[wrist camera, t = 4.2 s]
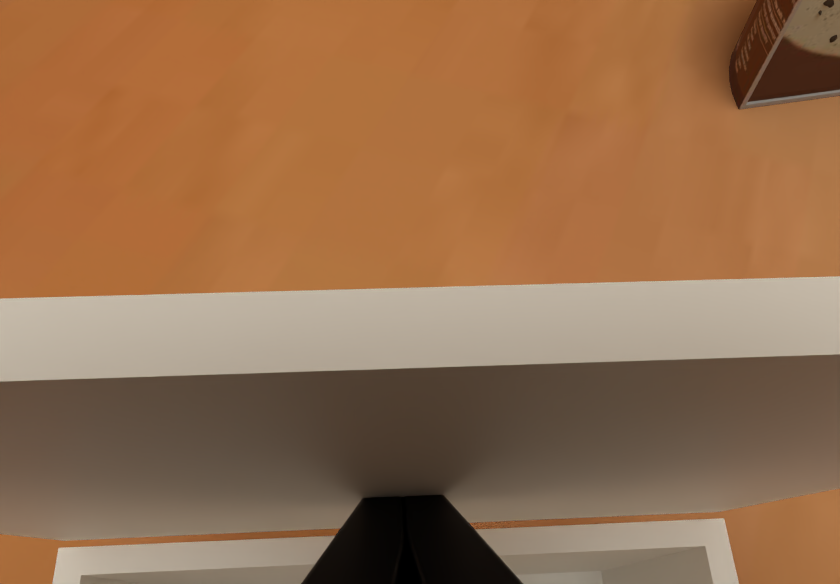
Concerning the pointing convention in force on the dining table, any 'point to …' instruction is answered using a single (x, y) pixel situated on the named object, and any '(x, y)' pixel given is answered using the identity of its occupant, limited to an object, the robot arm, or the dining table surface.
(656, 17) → the dining table surface
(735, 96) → the food container
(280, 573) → the carton
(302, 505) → the carton flap
